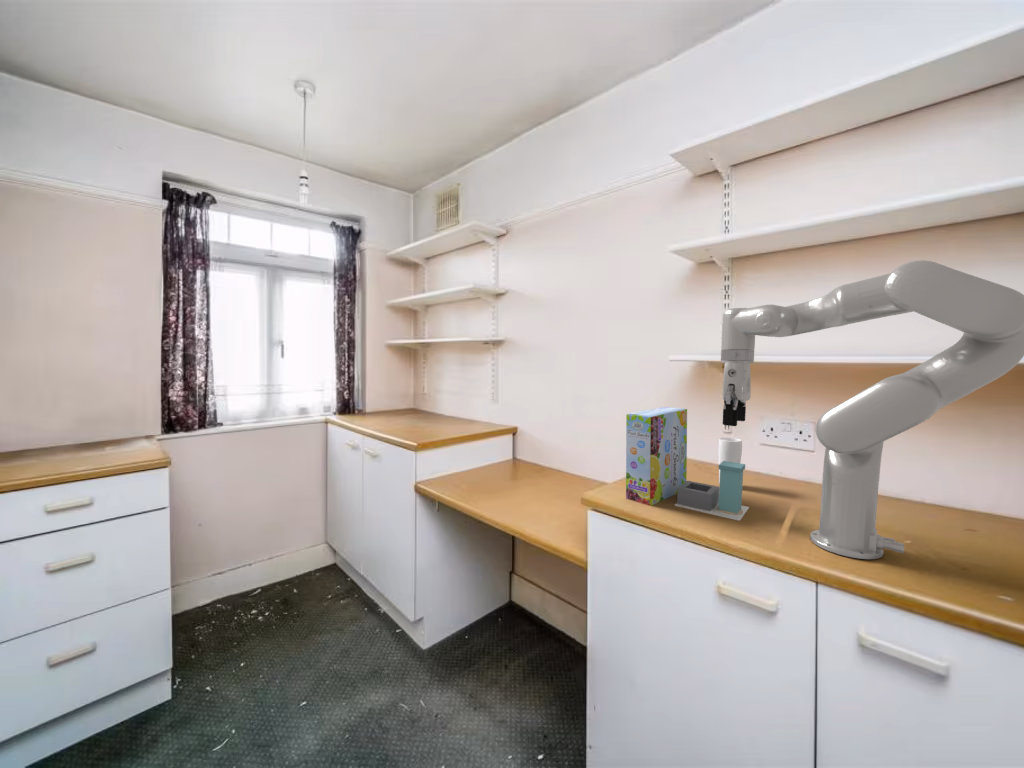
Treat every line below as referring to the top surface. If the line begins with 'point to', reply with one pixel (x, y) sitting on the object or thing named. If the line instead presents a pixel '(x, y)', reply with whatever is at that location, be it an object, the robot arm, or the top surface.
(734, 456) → the drinking glass
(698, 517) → the top surface
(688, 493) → the board
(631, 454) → the snack box
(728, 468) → the plug
